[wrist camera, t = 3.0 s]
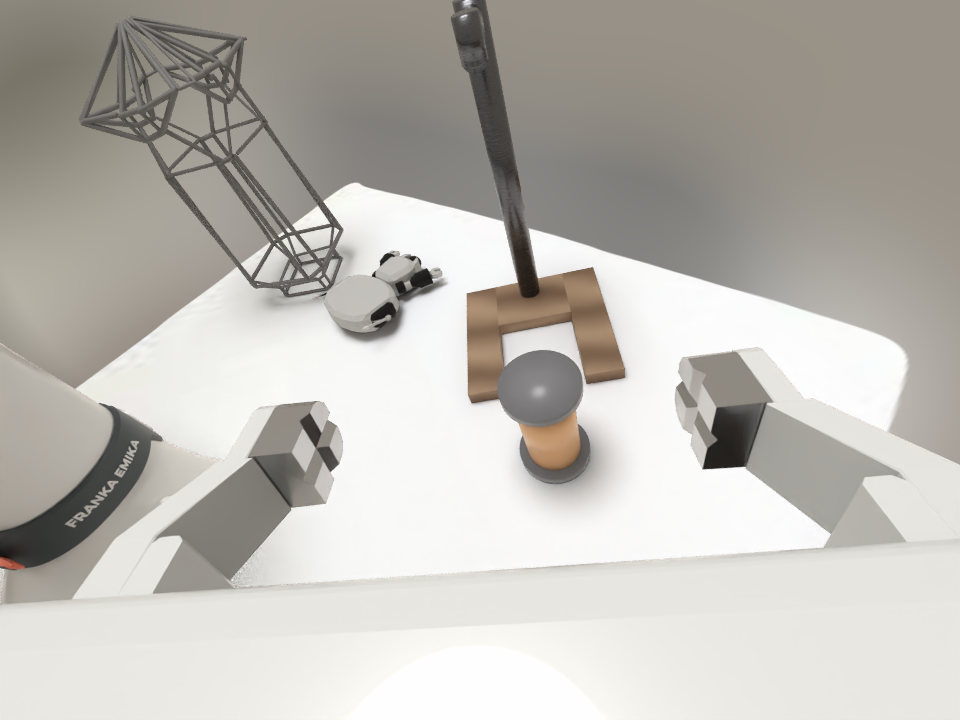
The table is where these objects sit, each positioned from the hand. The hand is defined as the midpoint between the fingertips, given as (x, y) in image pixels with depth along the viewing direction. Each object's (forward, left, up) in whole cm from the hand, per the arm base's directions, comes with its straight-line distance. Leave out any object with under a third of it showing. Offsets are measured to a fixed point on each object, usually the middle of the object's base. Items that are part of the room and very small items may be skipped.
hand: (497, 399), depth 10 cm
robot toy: (+31, +33, -30) cm, 54 cm away
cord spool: (+13, +5, -29) cm, 33 cm away
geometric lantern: (+35, +50, -30) cm, 68 cm away
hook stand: (+28, +10, -28) cm, 41 cm away
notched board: (+27, +10, -29) cm, 41 cm away
